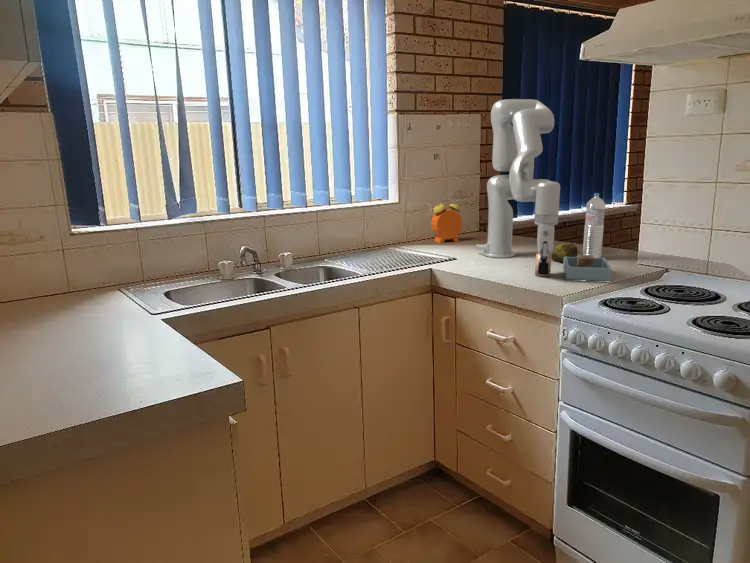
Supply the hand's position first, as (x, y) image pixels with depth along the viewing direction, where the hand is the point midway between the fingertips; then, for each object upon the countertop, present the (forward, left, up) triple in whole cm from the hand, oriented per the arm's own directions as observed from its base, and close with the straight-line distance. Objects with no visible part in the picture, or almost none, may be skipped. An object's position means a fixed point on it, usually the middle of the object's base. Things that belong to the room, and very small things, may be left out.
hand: (542, 271), depth 196 cm
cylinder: (0, 0, -1) cm, 1 cm away
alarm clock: (-41, +62, -1) cm, 74 cm away
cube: (+14, +7, -1) cm, 16 cm away
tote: (+14, +3, -1) cm, 15 cm away
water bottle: (+19, +33, -1) cm, 38 cm away
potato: (+8, +23, -2) cm, 24 cm away
